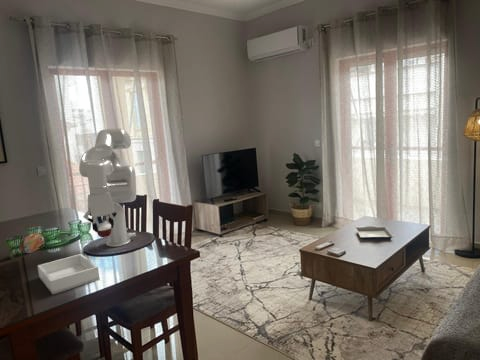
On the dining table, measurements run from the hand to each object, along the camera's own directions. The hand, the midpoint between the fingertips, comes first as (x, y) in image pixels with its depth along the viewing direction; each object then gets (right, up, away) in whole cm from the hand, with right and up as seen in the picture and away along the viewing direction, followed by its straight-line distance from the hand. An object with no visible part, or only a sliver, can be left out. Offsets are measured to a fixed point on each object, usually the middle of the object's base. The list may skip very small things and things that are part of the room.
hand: (103, 229), depth 161 cm
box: (-11, -20, -9) cm, 24 cm away
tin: (-48, -15, +29) cm, 58 cm away
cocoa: (0, -3, +1) cm, 3 cm away
